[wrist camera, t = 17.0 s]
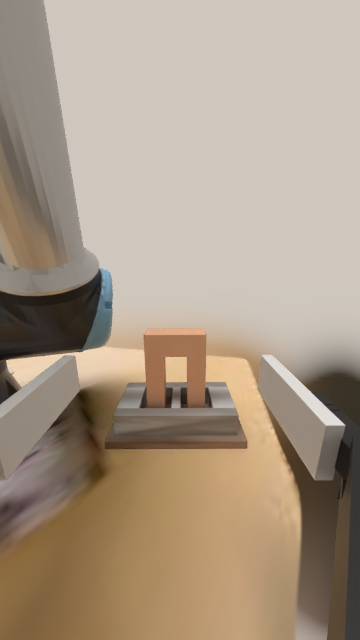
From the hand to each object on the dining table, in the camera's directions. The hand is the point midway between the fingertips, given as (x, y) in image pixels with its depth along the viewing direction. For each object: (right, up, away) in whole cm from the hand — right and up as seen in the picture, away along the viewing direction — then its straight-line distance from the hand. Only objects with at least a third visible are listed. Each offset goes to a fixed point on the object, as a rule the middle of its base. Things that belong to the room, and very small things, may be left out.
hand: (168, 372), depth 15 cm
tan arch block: (0, -10, +16) cm, 19 cm away
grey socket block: (0, -11, +16) cm, 20 cm away
